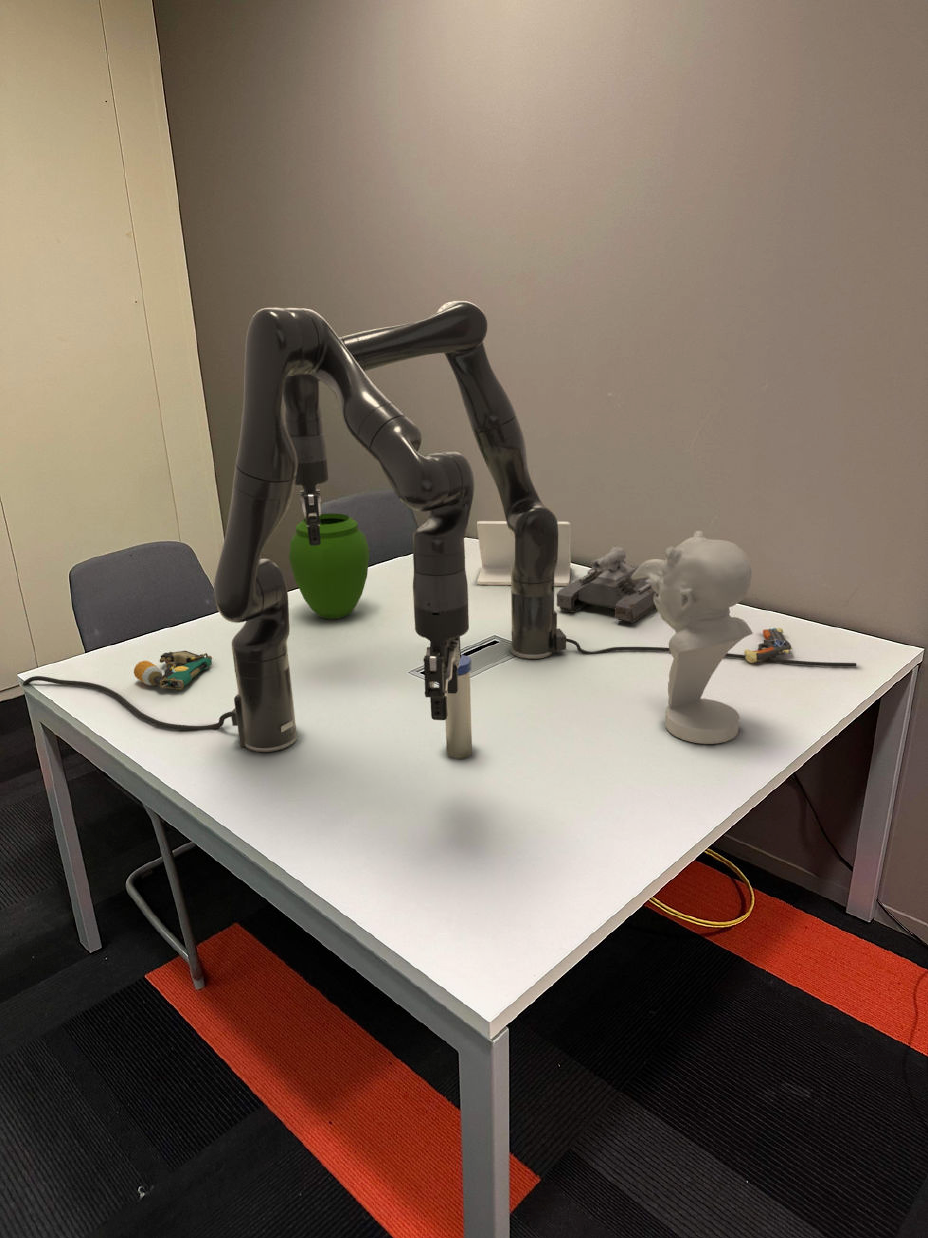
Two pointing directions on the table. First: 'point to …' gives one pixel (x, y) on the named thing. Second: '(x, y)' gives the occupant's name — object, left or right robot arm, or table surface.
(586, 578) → the toy
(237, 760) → the table surface
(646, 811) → the table surface
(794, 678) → the table surface
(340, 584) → the vase
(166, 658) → the spray gun
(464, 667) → the lid
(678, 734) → the bust sculpture
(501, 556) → the tablet stand
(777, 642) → the toy gun
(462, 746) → the jar
